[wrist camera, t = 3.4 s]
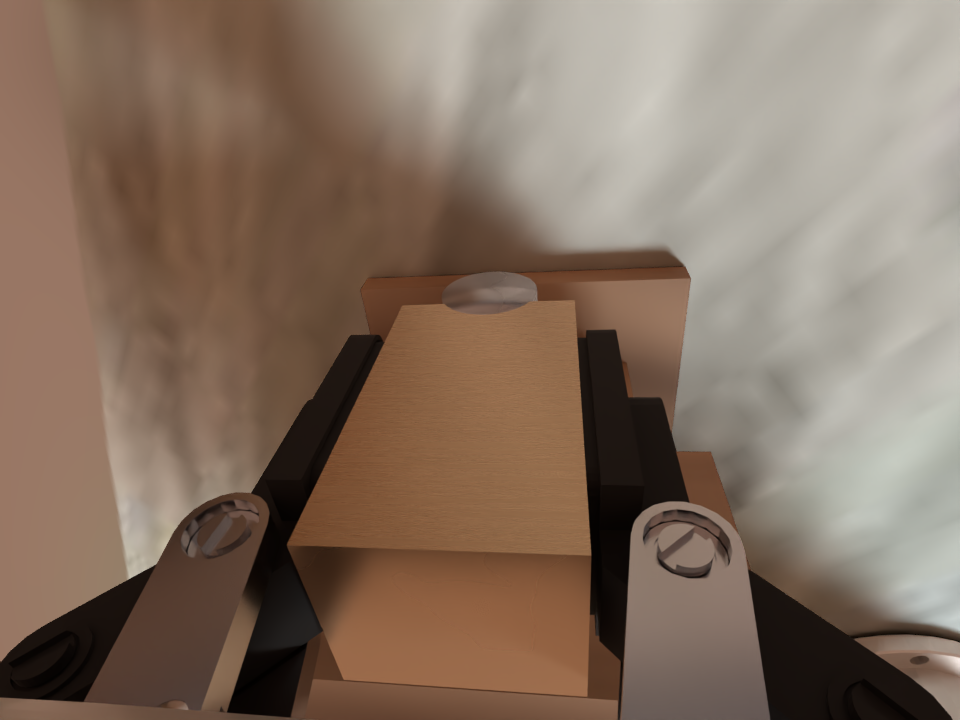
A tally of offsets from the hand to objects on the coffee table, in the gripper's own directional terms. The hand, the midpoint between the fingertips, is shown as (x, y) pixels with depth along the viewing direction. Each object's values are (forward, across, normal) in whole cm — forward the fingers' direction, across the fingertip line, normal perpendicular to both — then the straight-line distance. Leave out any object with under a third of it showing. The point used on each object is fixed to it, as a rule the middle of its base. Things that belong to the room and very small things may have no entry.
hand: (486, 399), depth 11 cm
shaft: (+3, 0, +9) cm, 10 cm away
